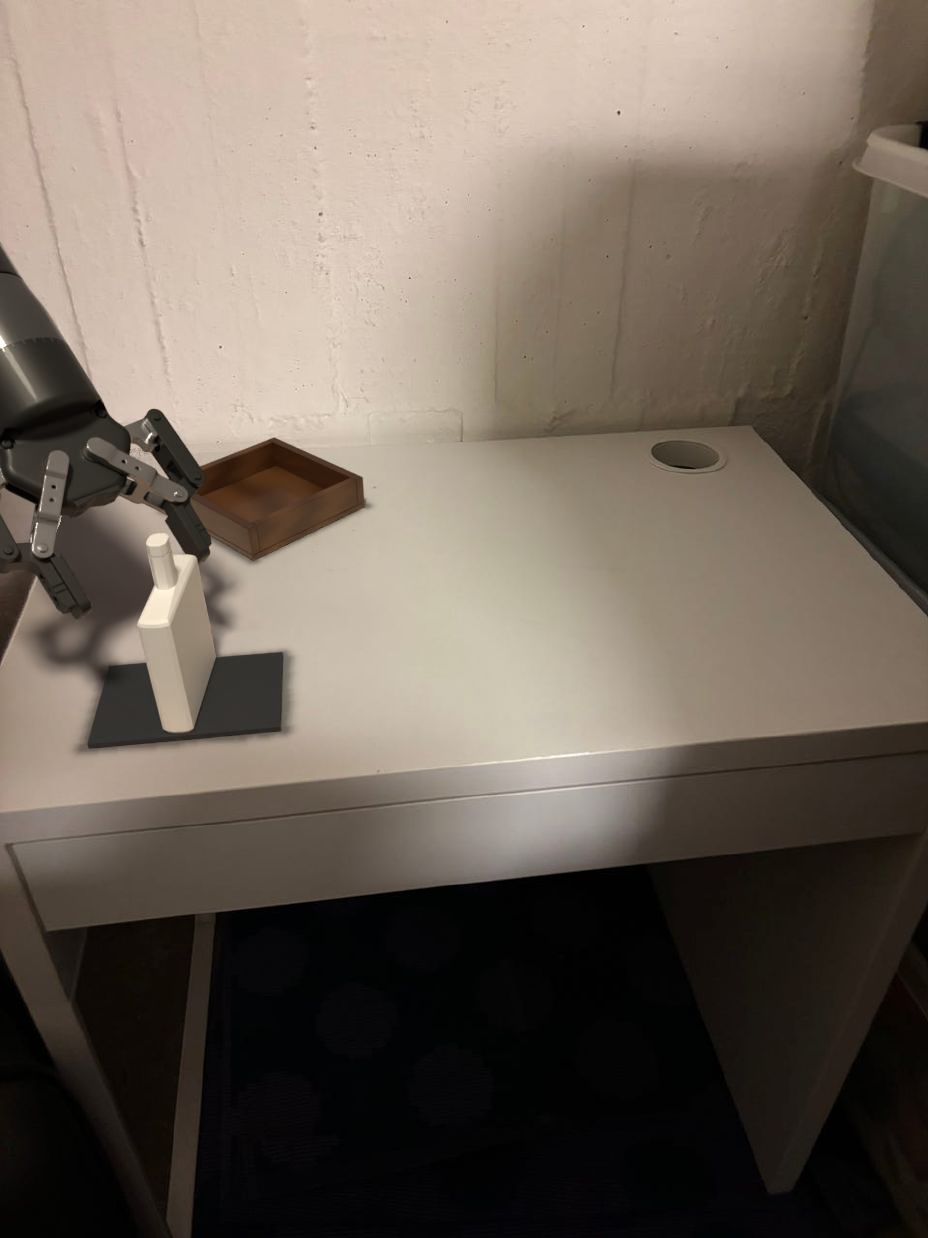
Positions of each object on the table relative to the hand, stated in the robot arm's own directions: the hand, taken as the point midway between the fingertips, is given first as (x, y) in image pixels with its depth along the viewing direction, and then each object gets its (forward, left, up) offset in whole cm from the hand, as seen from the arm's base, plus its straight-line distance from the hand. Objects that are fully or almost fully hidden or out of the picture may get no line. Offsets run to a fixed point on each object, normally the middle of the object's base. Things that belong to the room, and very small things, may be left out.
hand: (146, 585), depth 59 cm
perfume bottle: (0, -3, -8) cm, 8 cm away
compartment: (+20, +15, -8) cm, 26 cm away
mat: (0, -3, -8) cm, 8 cm away
